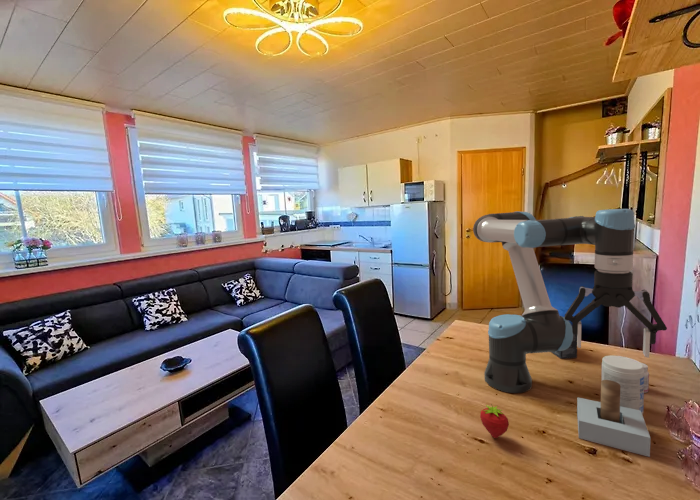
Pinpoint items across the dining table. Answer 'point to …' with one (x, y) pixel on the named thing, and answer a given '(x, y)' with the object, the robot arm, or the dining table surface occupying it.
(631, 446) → the socket block
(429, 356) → the dining table surface
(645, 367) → the pill bottle
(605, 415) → the dowel
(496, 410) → the strawberry
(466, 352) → the dining table surface
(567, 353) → the small box
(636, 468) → the dining table surface
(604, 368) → the supplement tub
